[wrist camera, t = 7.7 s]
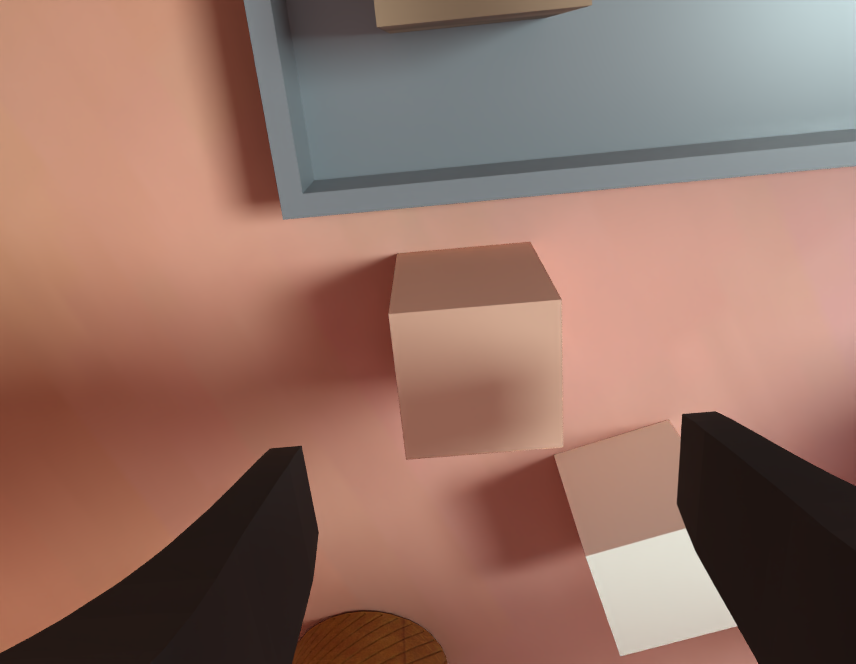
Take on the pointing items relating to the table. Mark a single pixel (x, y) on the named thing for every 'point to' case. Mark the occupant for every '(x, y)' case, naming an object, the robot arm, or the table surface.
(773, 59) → the tray
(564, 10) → the walnut block
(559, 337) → the peach block
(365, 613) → the disposable coffee cup
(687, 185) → the table surface
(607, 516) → the cream block
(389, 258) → the table surface
